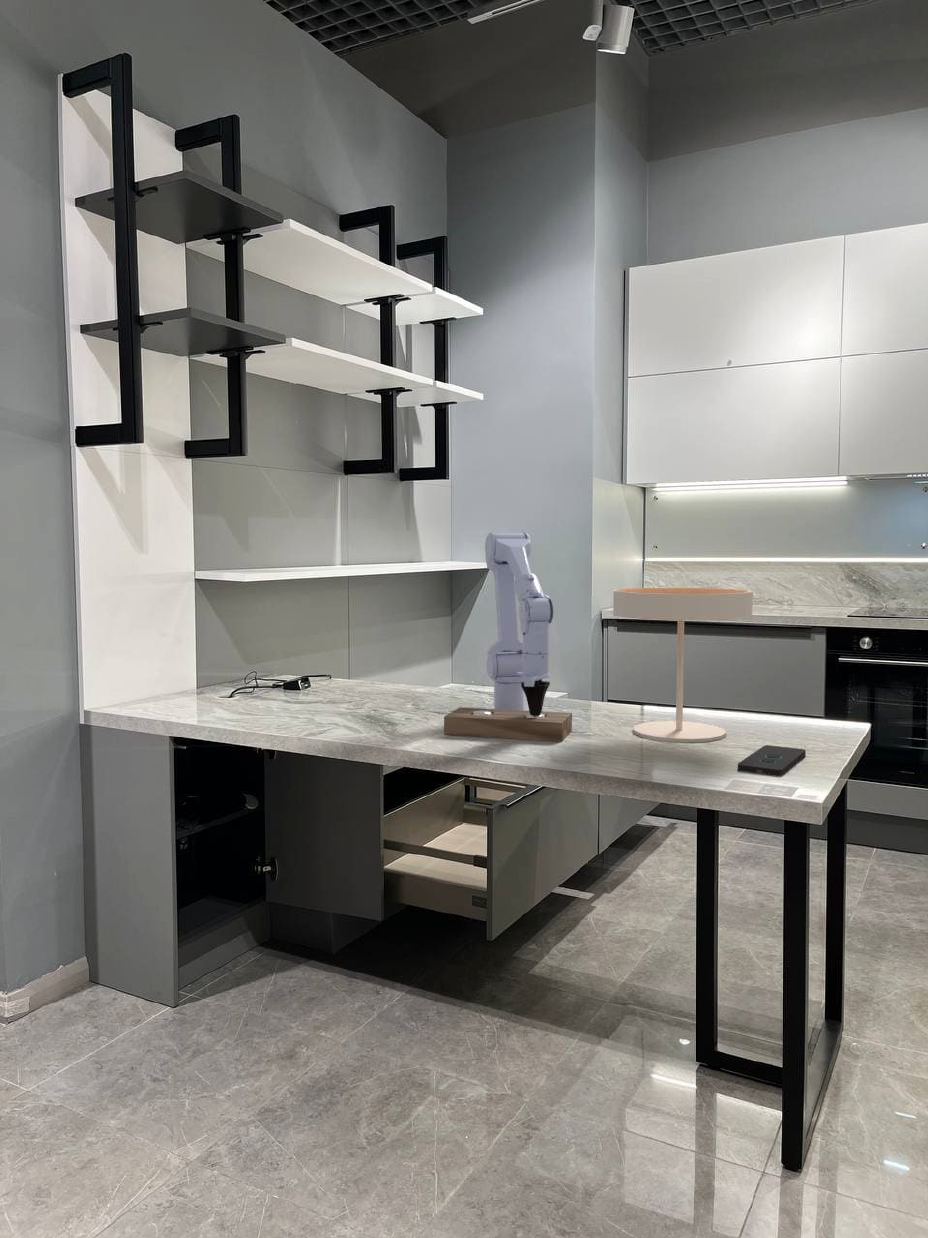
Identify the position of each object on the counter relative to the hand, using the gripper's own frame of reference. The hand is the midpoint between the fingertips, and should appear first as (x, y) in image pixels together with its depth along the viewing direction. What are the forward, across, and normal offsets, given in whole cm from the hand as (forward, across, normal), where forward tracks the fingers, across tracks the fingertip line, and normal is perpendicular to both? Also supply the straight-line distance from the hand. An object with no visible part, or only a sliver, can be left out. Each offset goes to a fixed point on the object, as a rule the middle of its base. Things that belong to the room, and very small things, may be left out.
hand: (535, 715), depth 205 cm
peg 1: (+4, 0, -12) cm, 13 cm away
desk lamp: (+4, -10, +30) cm, 32 cm away
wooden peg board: (+4, 0, -6) cm, 7 cm away
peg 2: (+4, 0, 0) cm, 4 cm away
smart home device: (+5, +14, +49) cm, 51 cm away
